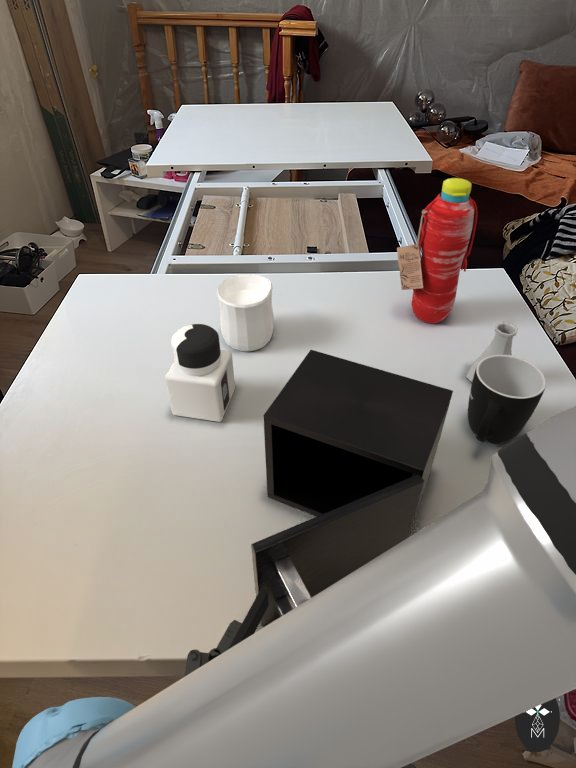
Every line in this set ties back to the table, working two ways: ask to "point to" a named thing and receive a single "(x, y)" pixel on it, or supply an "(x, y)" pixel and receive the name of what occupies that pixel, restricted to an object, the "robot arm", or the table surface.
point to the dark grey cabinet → (348, 433)
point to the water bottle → (439, 252)
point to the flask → (497, 345)
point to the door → (332, 546)
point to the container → (199, 374)
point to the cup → (246, 311)
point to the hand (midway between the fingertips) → (331, 627)
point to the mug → (503, 397)
